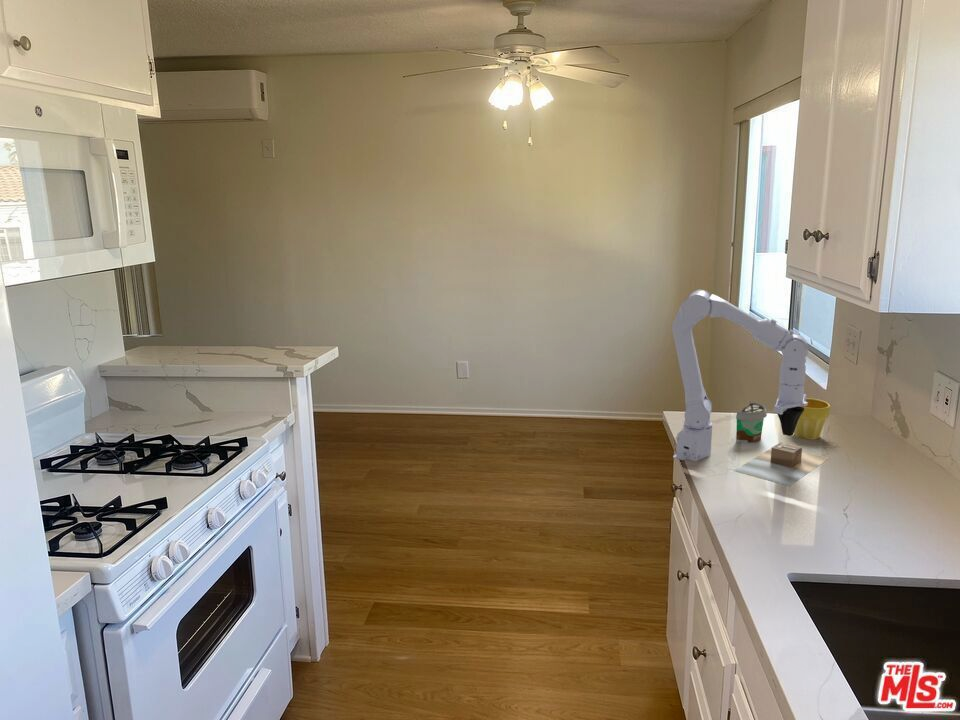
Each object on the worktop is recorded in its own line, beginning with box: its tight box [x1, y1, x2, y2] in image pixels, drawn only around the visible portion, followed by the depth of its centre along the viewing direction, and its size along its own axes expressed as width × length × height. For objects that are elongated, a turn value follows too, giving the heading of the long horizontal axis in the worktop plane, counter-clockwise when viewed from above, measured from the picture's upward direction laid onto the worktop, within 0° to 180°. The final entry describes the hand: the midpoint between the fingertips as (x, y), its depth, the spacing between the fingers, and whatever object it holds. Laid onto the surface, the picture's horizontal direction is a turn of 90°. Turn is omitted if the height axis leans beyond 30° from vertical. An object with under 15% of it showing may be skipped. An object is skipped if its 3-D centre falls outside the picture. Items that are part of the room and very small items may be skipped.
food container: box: [735, 400, 768, 444], centre depth 201 cm, size 12×6×10 cm, turn 143°
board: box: [733, 448, 830, 487], centre depth 183 cm, size 24×14×1 cm, turn 134°
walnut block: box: [770, 441, 803, 468], centre depth 184 cm, size 6×6×4 cm
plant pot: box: [793, 397, 831, 440], centre depth 204 cm, size 10×10×10 cm
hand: (787, 434), depth 183 cm, fingers closed
